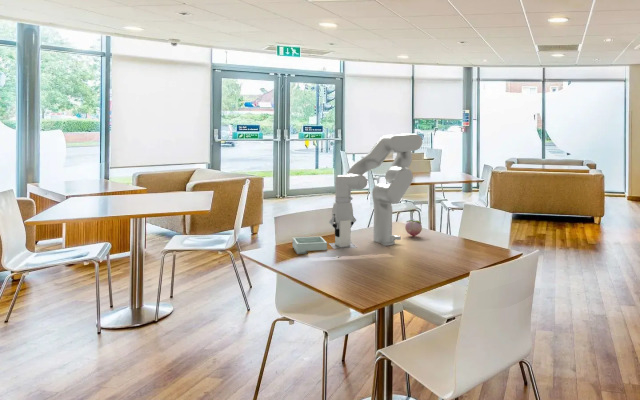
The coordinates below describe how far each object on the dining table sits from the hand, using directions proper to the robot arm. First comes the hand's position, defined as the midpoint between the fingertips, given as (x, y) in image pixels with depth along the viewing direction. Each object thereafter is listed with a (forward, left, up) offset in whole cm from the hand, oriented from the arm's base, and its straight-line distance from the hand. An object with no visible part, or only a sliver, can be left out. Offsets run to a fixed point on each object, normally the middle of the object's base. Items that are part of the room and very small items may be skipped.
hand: (342, 235), depth 251 cm
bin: (+17, 0, -6) cm, 18 cm away
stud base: (0, 0, -6) cm, 6 cm away
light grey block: (0, 0, -5) cm, 5 cm away
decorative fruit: (-46, -20, -7) cm, 51 cm away
